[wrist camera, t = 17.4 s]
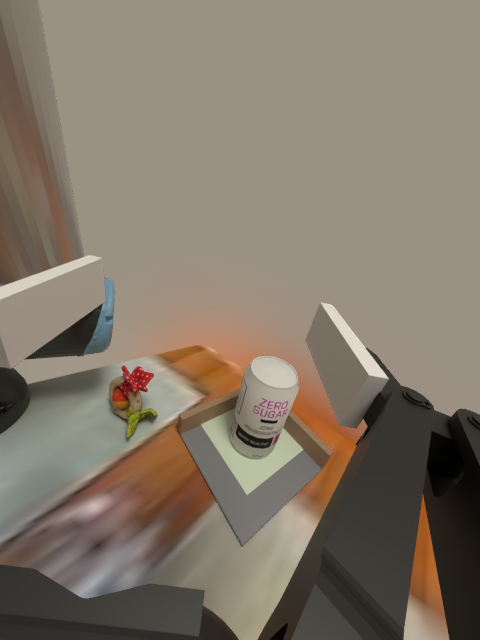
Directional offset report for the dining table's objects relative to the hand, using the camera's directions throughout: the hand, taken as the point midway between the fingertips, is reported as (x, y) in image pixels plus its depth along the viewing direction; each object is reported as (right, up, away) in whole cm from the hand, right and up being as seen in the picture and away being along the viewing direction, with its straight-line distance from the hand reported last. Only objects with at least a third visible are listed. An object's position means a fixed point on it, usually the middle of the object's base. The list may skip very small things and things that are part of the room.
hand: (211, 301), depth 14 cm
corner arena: (+4, -23, +25) cm, 34 cm away
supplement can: (+4, -22, +26) cm, 35 cm away
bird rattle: (-17, -18, +26) cm, 36 cm away
